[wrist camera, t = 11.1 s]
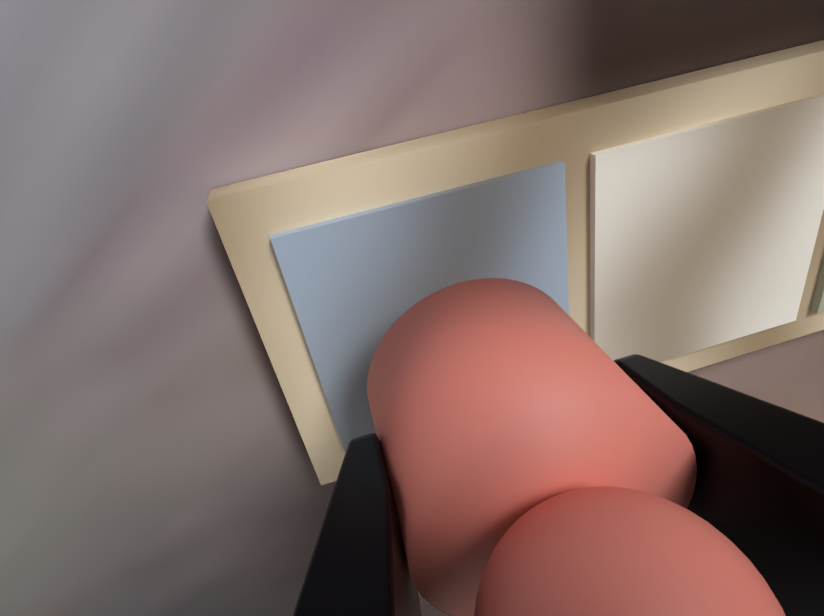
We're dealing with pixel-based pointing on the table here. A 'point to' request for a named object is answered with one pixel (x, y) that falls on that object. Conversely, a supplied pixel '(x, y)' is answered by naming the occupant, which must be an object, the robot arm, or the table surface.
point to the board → (549, 230)
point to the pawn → (541, 469)
